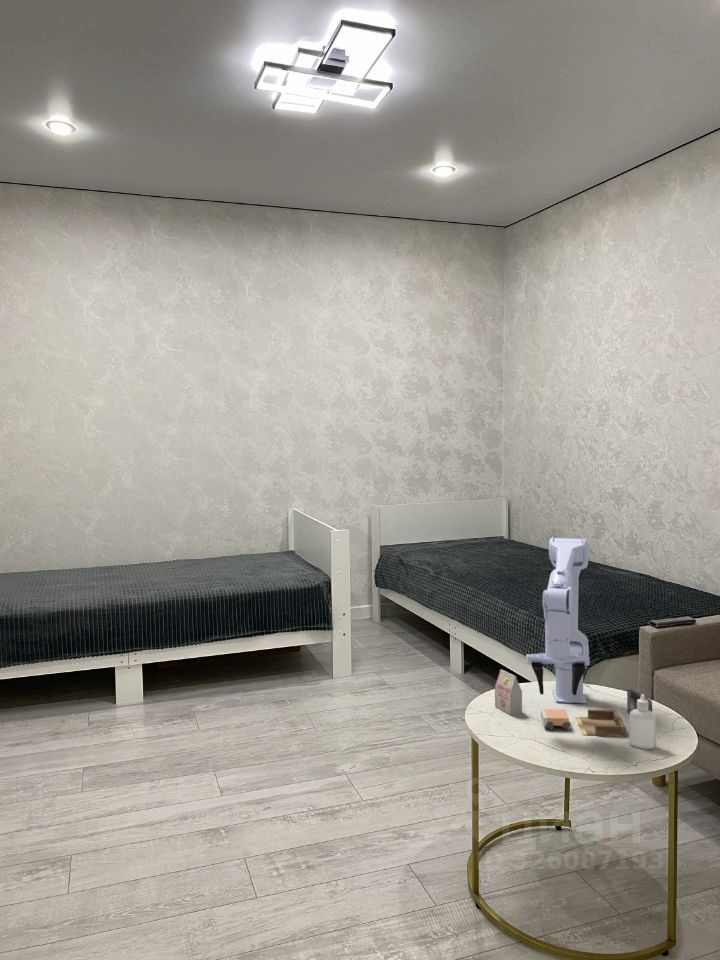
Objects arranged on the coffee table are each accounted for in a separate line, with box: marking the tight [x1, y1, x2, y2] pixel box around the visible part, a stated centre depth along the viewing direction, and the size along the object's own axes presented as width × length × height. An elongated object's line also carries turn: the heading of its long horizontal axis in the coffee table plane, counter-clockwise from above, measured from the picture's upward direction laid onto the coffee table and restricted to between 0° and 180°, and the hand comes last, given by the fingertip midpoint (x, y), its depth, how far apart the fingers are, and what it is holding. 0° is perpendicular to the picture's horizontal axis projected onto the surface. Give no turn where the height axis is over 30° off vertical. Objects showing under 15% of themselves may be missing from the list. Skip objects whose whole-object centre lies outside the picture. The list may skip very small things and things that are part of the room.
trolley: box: [540, 708, 572, 730], centre depth 184 cm, size 7×6×3 cm
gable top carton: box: [494, 669, 523, 716], centre depth 195 cm, size 4×7×10 cm, turn 24°
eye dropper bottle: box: [628, 693, 657, 750], centre depth 171 cm, size 4×6×12 cm
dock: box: [575, 708, 627, 738], centre depth 183 cm, size 11×10×2 cm
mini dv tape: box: [626, 689, 653, 715], centre depth 188 cm, size 8×2×6 cm, turn 14°
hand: (557, 693), depth 179 cm, fingers open, 7 cm apart
